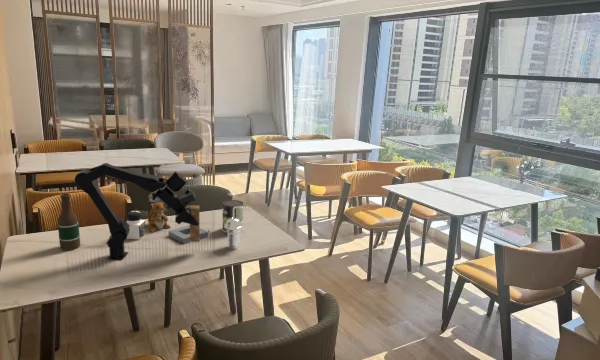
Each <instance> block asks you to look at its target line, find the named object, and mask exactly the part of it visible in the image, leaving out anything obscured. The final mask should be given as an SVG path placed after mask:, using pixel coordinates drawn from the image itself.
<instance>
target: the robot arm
mask: <svg viewBox="0 0 600 360" xmlns="http://www.w3.org/2000/svg"><path fill="white" fill-rule="evenodd" d="M103 176H108V177H112V178H115V179H118V180H122V181H124V182H128V183H131V184H134V185H136V186H137V187H139V188H141V189H143V190H145V191H147V192H149V193H151V196H152V199H151V200H152V201H155V199H157V198H158V199H159V200H160V202H161V203H164V205H166V208H167V210H168V209H170V210H171V211H172V212H174V215H175V219H174V222H175V223H177V225H180V224H181V223H184V224H188V225H190V224H191V225H195V226H198V225H199V224H198V222H197V221H196V220H195V219H194V218H193V216H192V215H191V210H190V211H189V208H190V206H193V205H192V204H191V203H192V202H195V201H197V196H196V195H195V191H193V190H190V189H189V188H188V189H186V190H185V191H184V192H185V193H183V194H182V195H180V194H175V193H176V192H180V190H181V189H182V188H184V187H185V186H186V185H187V184H188V179H186V177H185V176H184V175H182V174H180V173H179V172H178V171H176V170H175V171H174V172H173V173H171V175H170V176H169V177H168V178H166V177H165V178H164V177H158V175H155V174H148V173H139V172H134V171H131V170H128V169H125V168H123V167H119V166H117V165H112V164H110V163H108V162H105V163H102V164H100V165H97V166H94V167H92V168H90V169H89V168H88V169H87V168H84V169H82V170H80V171H79V172H78V173H77V174H76V175H75V177H74V183H75V185H77V187H78V188H80V190H81V191H83V192H84V193H85V194H87V195H88V196H89V198H90V199H91V201H92V202H93V204H94V205H95V207H96V208H97V209H98V211H99V213H100V214H101V216H102V218H103V219H104V221H105V222H106V223H107V226H108V229H109V233H110V235H109V237H108V239H107V242H106V244H107V247H108V248H109V255H108V256H107V257H106V260H116V261H117V260H121V261H122V260H124V259H125V258H126V256H127V255H128V254H129V252H127V251H125V241H126V240H127V239H126V238H127V236H128V234H129V231H130V229H129V226H130V225H129V224H128V223H127V222H128V221H127V220H126V218H122V219H121V218H119V216H118V215H117V214H116V212H115V211H114V209H113V208H112V206H111V205H110V203H109V202H108V200H107V199H106V197H105V195H104V194H103V192H102V190H101V189H100V187H99V184H98V179H100V178H101V177H103Z"/></svg>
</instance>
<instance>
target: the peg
mask: <svg viewBox="0 0 600 360" xmlns="http://www.w3.org/2000/svg"><path fill="white" fill-rule="evenodd" d="M189 206H190V205H189ZM190 210H191V215H192V216H193V218H194V219H195V220H196V221H197V222H198V224H199V225H198V226H195V225H191V224H189V225H190V233H189V234H190V242H189V243H200V240H201V239H200V228H201V227H200V226H201V225H200V224H201V223H200V219H201V218H200V215H201V214H200V205H199V204H198V205H192V206H190V208H189V211H190Z"/></svg>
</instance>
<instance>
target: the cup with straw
mask: <svg viewBox="0 0 600 360" xmlns="http://www.w3.org/2000/svg"><path fill="white" fill-rule="evenodd" d="M242 207H243V208H246V205H243V206H236V207H233V218H230V219H228V221H227V222H226V224H225V225H224V228H225V229H226V232H227V233H226V232H225V233H226V234H227V235H226V237H227V245H228V249H230V250H232V249H233V250H234V249H239V248H240V246H239V245H240V240H241V233H242V232H241V229H242V228H243V229H244V225H243V224H244V223H243V224H242V223H241V221H240V220H239V219H238V218H235V217H234V209H235V208H242Z"/></svg>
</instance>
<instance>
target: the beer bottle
mask: <svg viewBox="0 0 600 360" xmlns="http://www.w3.org/2000/svg"><path fill="white" fill-rule="evenodd" d="M59 198H60V199H61V202H60V203H61V212H60V214H59V216H58V219H57V229H58V230H57V231H58V239H59V247H60V249H61V250H62V251H74V250H77V249H79V248H80V246H81V238H80V237H81V236H80V235H81V234H80V225H79V224H80V223H79V218H78V216H77V215H76V213H74V211H73V208H72V207H73V206H72V201H71V194H70V193H62V194H60V197H59Z"/></svg>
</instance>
